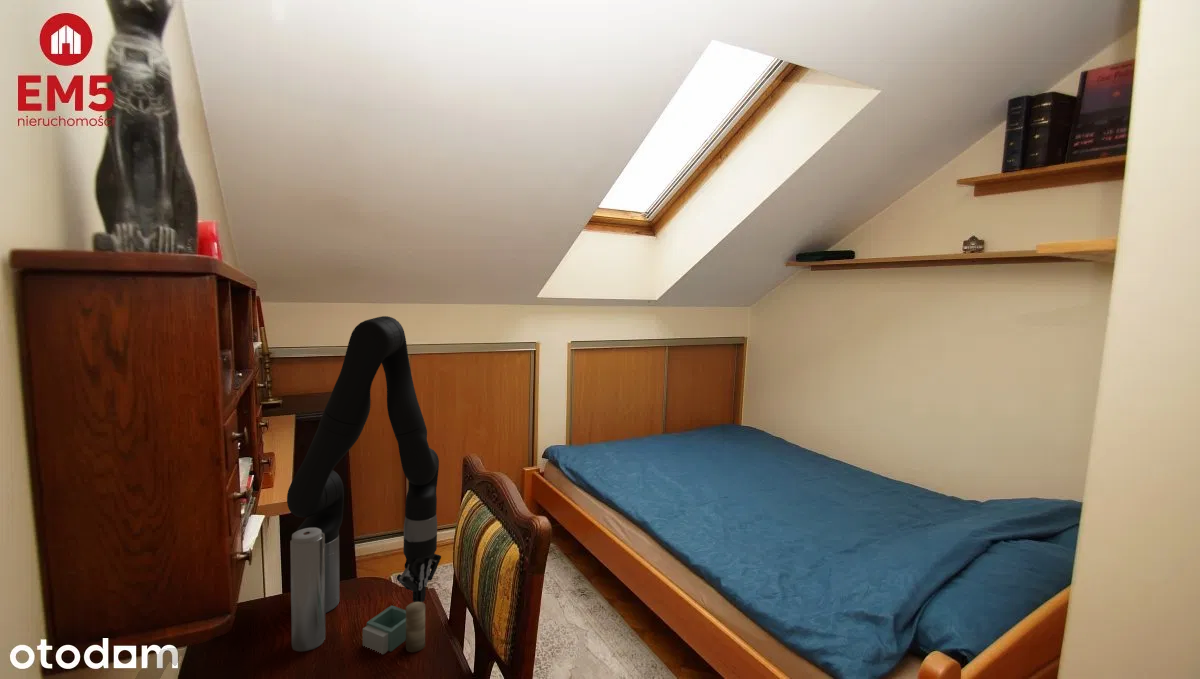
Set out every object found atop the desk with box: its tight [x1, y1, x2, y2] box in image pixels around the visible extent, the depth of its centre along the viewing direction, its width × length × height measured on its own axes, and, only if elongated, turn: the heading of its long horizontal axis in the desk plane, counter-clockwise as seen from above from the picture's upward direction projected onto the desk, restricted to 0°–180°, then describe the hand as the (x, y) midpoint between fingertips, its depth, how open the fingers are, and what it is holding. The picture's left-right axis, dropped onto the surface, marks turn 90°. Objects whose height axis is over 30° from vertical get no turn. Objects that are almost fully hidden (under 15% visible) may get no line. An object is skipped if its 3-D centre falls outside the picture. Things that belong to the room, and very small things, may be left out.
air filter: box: [289, 528, 326, 653], centre depth 113 cm, size 6×6×25 cm
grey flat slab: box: [362, 624, 389, 655], centre depth 112 cm, size 6×1×4 cm, turn 66°
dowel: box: [405, 601, 426, 653], centre depth 113 cm, size 4×4×9 cm
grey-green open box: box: [366, 604, 406, 652], centre depth 116 cm, size 7×7×4 cm
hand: (419, 601), depth 125 cm, fingers closed
